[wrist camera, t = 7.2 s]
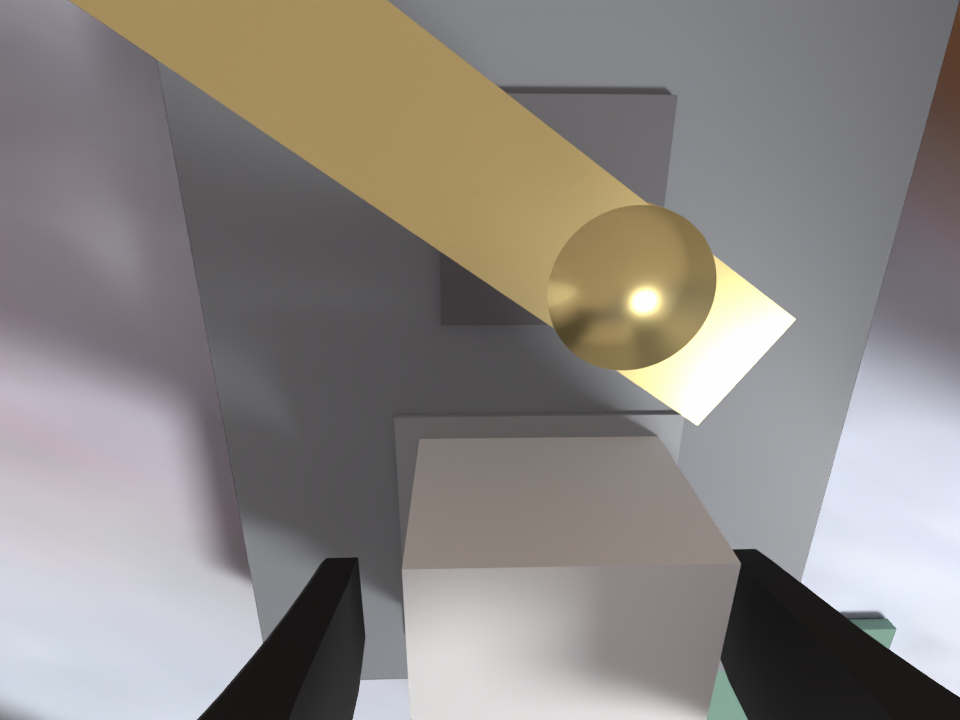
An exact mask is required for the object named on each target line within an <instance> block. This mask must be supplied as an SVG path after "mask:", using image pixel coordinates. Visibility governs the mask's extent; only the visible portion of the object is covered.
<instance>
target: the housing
mask: <svg viewBox="0 0 960 720" xmlns="http://www.w3.org/2000/svg"><path fill="white" fill-rule="evenodd" d="M388 1H389V2H390V3H392V4H393V5H394V6H395V7H397V8H398V9H399V10H400V11H402V12H403V13H404V14H406V15H407V16H408V17H409V18H411V19H412V20H413V21H415V22H416V23H417V24H418V25H420V26H421V27H422V28H424V29H425V30H426V31H427V32H429V33H430V34H431V35H432V36H434V37H435V38H436V39H438V40H439V41H440V42H441V43H443V44H444V45H445V46H447V47H448V48H449V49H450V50H452V51H453V52H454V53H456V54H457V55H458V56H459V57H461V58H462V59H463V60H464V61H466V62H467V63H468V64H470V65H471V66H472V67H473V68H475V69H476V70H477V71H479V72H480V73H481V74H482V75H484V76H485V77H486V78H488V79H489V80H490V81H491V82H493V83H494V84H495V85H497V86H498V87H499V88H500V89H502V90H503V91H504V92H505V93H507V94H508V95H509V96H511V97H512V98H513V99H514V100H516V101H517V102H518V103H520V104H521V105H522V106H523V107H525V108H526V109H527V110H529V111H530V112H531V113H532V114H534V115H535V116H536V117H537V118H539V119H540V120H541V121H543V122H544V123H545V124H546V125H548V126H549V127H550V128H552V129H553V130H554V131H555V132H557V133H558V134H559V135H561V136H562V137H563V138H564V139H566V140H567V141H568V142H569V143H571V144H572V145H573V146H575V147H576V148H577V149H578V150H580V151H581V152H582V153H584V154H585V155H586V156H587V157H589V158H590V159H591V160H593V161H594V162H595V163H596V164H598V165H599V166H600V167H602V168H603V169H604V170H605V171H607V172H608V173H609V174H610V175H612V176H613V177H614V178H616V179H617V180H618V181H619V182H621V183H622V184H623V185H625V186H626V187H627V188H628V189H630V190H631V191H632V192H634V193H635V194H636V195H637V196H639V197H640V198H641V199H642V200H644V201H646V202H649V203H652V204H655V205H657V206H660V207H663V208H666V209H668V210H671V211H673V212H675V213H677V214H679V215H681V216H683V217H684V218H686V219H687V220H689V221H690V222H691V223H692V224H693V225H694V226H695V227H696V228H697V229H698V230H699V231H700V232H701V234H702V235H703V236H704V238H705V239H706V241H707V243H708V244H709V246H710V249H711V251H712V254H713V255H714V256H715V257H717V258H718V259H719V260H721V261H722V262H723V263H724V264H726V265H727V266H728V267H730V268H731V269H732V270H733V271H735V272H736V273H737V274H739V275H740V276H741V277H742V278H744V279H745V280H746V281H747V282H749V283H750V284H751V285H753V286H754V287H755V288H756V289H758V290H759V291H760V292H762V293H763V294H764V295H765V296H767V297H768V298H769V299H771V300H772V301H773V302H774V303H776V304H777V305H778V306H780V307H781V308H782V309H783V310H785V311H786V312H787V313H788V314H790V315H791V316H792V317H794V318H795V319H796V320H795V321H794V322H793V323H792V324H791V325H790V326H789V327H788V328H787V329H786V330H785V332H784V333H783V334H782V335H781V336H780V337H779V338H778V339H777V340H776V341H775V342H774V343H773V344H772V346H771V347H770V348H769V349H768V350H767V351H766V352H765V353H764V354H763V355H762V356H761V357H760V359H759V360H758V361H757V362H756V363H755V364H754V365H753V366H752V367H751V368H750V369H749V370H748V371H747V373H746V374H745V375H744V376H743V377H742V378H741V379H740V380H739V381H738V382H737V383H736V384H735V386H734V387H733V388H732V389H731V390H730V391H729V392H728V393H727V394H726V395H725V396H724V397H723V399H722V400H721V401H720V402H719V403H718V404H717V405H716V406H715V407H714V408H713V409H712V410H711V411H710V413H709V414H708V415H707V416H706V417H705V418H704V419H703V420H702V421H701V422H700V423H699V424H698V426H697V425H696V424H694V423H693V422H691V421H690V420H689V419H687V418H686V417H684V416H683V415H681V414H680V413H678V412H677V411H675V410H674V409H672V408H671V407H669V406H668V405H666V404H665V403H663V402H662V401H660V400H659V399H658V398H656V397H655V396H653V395H652V394H650V393H649V392H647V391H646V390H644V389H643V388H641V387H640V386H638V385H637V384H635V383H634V382H632V381H631V380H629V379H628V378H626V377H625V376H624V375H622V374H621V373H619V372H618V371H616V370H611V369H605V368H601V367H597V366H595V365H592V364H590V363H588V362H586V361H584V360H582V359H581V358H579V357H578V356H576V355H575V354H574V353H573V352H571V351H570V350H569V349H568V348H567V347H566V346H565V345H564V343H563V342H562V341H561V339H560V338H559V336H558V335H557V333H556V331H555V329H554V328H553V327H551V326H550V325H548V324H547V323H545V322H544V321H542V320H541V319H539V318H538V317H536V316H535V315H533V314H532V313H530V312H529V311H527V310H526V309H525V308H523V307H522V306H520V305H519V304H517V303H516V302H514V301H513V300H511V299H510V298H508V297H507V296H505V295H504V294H502V293H501V292H499V291H498V290H496V289H495V288H493V287H492V286H491V285H489V284H488V283H486V282H485V281H483V280H482V279H480V278H479V277H477V276H476V275H474V274H473V273H471V272H470V271H468V270H467V269H465V268H464V267H462V266H461V265H460V264H458V263H457V262H455V261H454V260H452V259H451V258H449V257H448V256H446V255H445V254H443V253H442V252H440V251H439V250H437V249H436V248H434V247H433V246H431V245H430V244H428V243H427V242H426V241H424V240H423V239H421V238H420V237H418V236H417V235H415V234H414V233H412V232H411V231H409V230H408V229H406V228H405V227H403V226H402V225H400V224H399V223H397V222H396V221H394V220H393V219H392V218H390V217H389V216H387V215H386V214H384V213H383V212H381V211H380V210H378V209H377V208H375V207H374V206H372V205H371V204H369V203H368V202H366V201H365V200H363V199H362V198H361V197H359V196H358V195H356V194H355V193H353V192H352V191H350V190H349V189H347V188H346V187H344V186H343V185H341V184H340V183H338V182H337V181H335V180H334V179H332V178H331V177H329V176H328V175H327V174H325V173H324V172H322V171H321V170H319V169H318V168H316V167H315V166H313V165H312V164H310V163H309V162H307V161H306V160H304V159H303V158H301V157H300V156H298V155H297V154H295V153H294V152H293V151H291V150H290V149H288V148H287V147H285V146H284V145H282V144H281V143H279V142H278V141H276V140H275V139H273V138H272V137H270V136H269V135H267V134H266V133H264V132H263V131H262V130H260V129H259V128H257V127H256V126H254V125H253V124H251V123H250V122H248V121H247V120H245V119H244V118H242V117H241V116H239V115H238V114H236V113H235V112H233V111H232V110H230V109H229V108H228V107H226V106H225V105H223V104H222V103H220V102H219V101H217V100H216V99H214V98H213V97H211V96H210V95H208V94H207V93H205V92H204V91H202V90H201V89H199V88H198V87H196V86H195V85H194V84H192V83H191V82H189V81H188V80H186V79H185V78H183V77H182V76H180V75H179V74H177V73H176V72H174V71H173V70H171V69H170V68H168V67H167V66H165V65H164V64H163V63H161V62H160V61H158V60H157V59H156V60H157V66H158V71H159V76H160V82H161V87H162V93H163V98H164V104H165V109H166V115H167V120H168V126H169V131H170V137H171V142H172V148H173V153H174V158H175V164H176V169H177V175H178V180H179V186H180V191H181V197H182V202H183V208H184V213H185V219H186V224H187V230H188V235H189V240H190V246H191V251H192V257H193V262H194V268H195V273H196V279H197V284H198V290H199V295H200V301H201V306H202V311H203V317H204V322H205V328H206V333H207V339H208V344H209V350H210V355H211V361H212V366H213V372H214V377H215V383H216V388H217V393H218V399H219V404H220V410H221V415H222V421H223V426H224V432H225V437H226V443H227V448H228V454H229V459H230V465H231V470H232V475H233V481H234V486H235V492H236V497H237V503H238V508H239V514H240V519H241V525H242V530H243V536H244V541H245V546H246V552H247V557H248V563H249V568H250V574H251V579H252V585H253V590H254V596H255V601H256V607H257V612H258V618H259V623H260V628H261V634H262V639H263V643H264V641H265V640H266V639H267V638H268V636H269V635H270V634H271V632H272V631H273V630H274V628H275V627H276V626H277V625H278V623H279V622H280V621H281V619H282V618H283V617H284V615H285V614H286V613H287V611H288V610H289V609H290V607H291V606H292V604H293V603H294V602H295V600H296V599H297V598H298V596H299V595H300V593H301V592H302V590H303V589H304V588H305V586H306V585H307V583H308V582H309V580H310V579H311V577H312V576H313V574H314V573H315V571H316V570H317V568H318V567H319V565H320V564H321V562H323V561H324V560H325V559H326V558H349V557H358V561H359V572H360V583H361V594H362V604H363V615H364V626H365V637H366V638H365V646H364V654H363V662H362V670H361V677H360V680H376V679H408V668H407V651H406V634H405V616H404V599H403V582H402V564H403V557H404V550H405V542H406V535H407V527H408V520H409V513H410V505H411V498H412V490H413V483H414V476H415V468H416V461H417V453H418V446H419V439H453V438H543V437H632V436H658V437H659V438H660V440H661V441H662V443H663V444H664V446H665V447H666V449H667V451H668V452H669V454H670V455H671V457H672V458H673V460H674V461H675V463H676V464H677V466H678V467H679V469H680V470H681V472H682V473H683V475H684V477H685V478H686V480H687V481H688V483H689V484H690V486H691V487H692V489H693V490H694V492H695V493H696V495H697V496H698V498H699V500H700V501H701V503H702V504H703V506H704V507H705V509H706V510H707V512H708V513H709V515H710V516H711V518H712V519H713V521H714V522H715V524H716V526H717V527H718V529H719V530H720V532H721V533H722V535H723V536H724V538H725V539H726V541H727V542H728V544H729V545H730V547H731V548H732V549H757V550H758V551H760V552H761V553H762V554H764V555H765V556H767V557H768V558H769V559H771V560H772V561H773V562H775V563H776V564H777V565H779V566H780V567H781V568H782V569H784V570H785V571H786V572H788V573H789V574H790V575H791V576H793V577H794V578H795V579H797V580H798V581H799V582H800V583H801V579H802V575H803V572H804V568H805V564H806V561H807V557H808V553H809V550H810V546H811V542H812V539H813V535H814V531H815V528H816V524H817V520H818V517H819V513H820V509H821V506H822V502H823V498H824V495H825V491H826V487H827V484H828V480H829V477H830V473H831V469H832V466H833V462H834V458H835V455H836V451H837V447H838V444H839V440H840V436H841V433H842V429H843V425H844V422H845V418H846V414H847V411H848V407H849V403H850V400H851V396H852V392H853V389H854V385H855V381H856V378H857V374H858V370H859V367H860V363H861V359H862V356H863V352H864V348H865V345H866V341H867V337H868V334H869V330H870V326H871V323H872V319H873V316H874V312H875V308H876V305H877V301H878V297H879V294H880V290H881V286H882V283H883V279H884V275H885V272H886V268H887V264H888V261H889V257H890V253H891V250H892V246H893V242H894V239H895V235H896V231H897V228H898V224H899V220H900V217H901V213H902V209H903V206H904V202H905V198H906V195H907V191H908V187H909V184H910V180H911V176H912V173H913V169H914V165H915V162H916V158H917V155H918V151H919V147H920V144H921V140H922V136H923V133H924V129H925V125H926V122H927V118H928V114H929V111H930V107H931V103H932V100H933V96H934V92H935V89H936V85H937V81H938V78H939V74H940V70H941V67H942V63H943V59H944V56H945V52H946V48H947V45H948V41H949V37H950V34H951V30H952V26H953V23H954V19H955V15H956V12H957V8H958V4H959V1H960V0H388ZM718 671H725V670H724V667H723V665H722V662H721V660H720V662H719V666H718Z"/></svg>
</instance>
